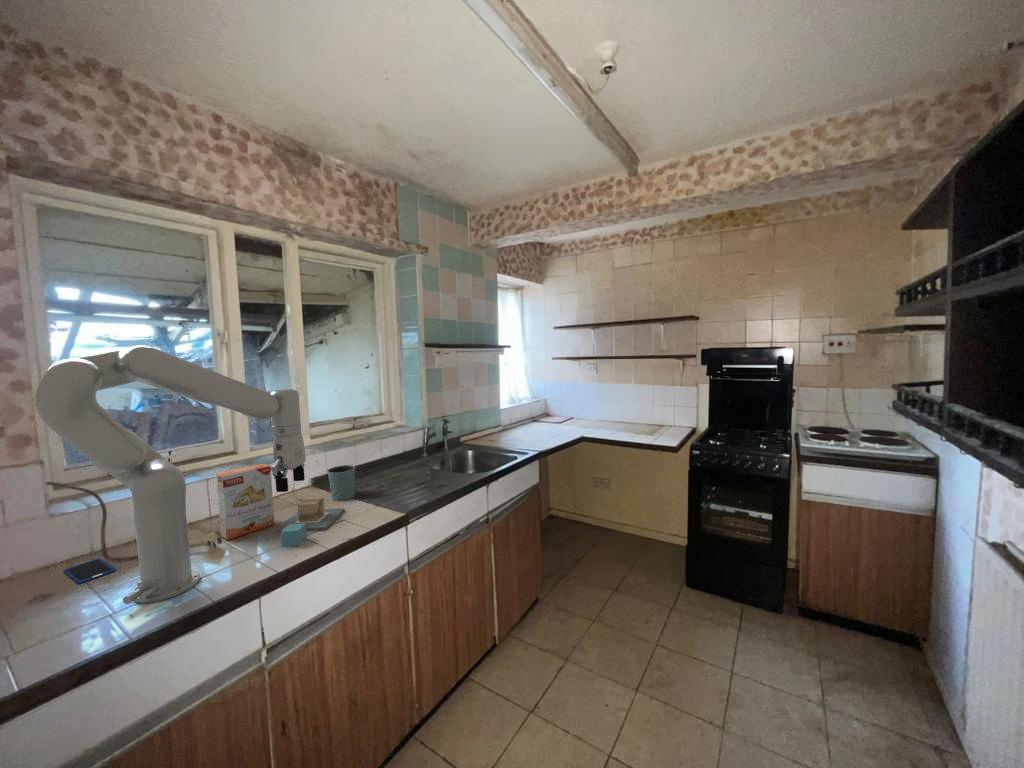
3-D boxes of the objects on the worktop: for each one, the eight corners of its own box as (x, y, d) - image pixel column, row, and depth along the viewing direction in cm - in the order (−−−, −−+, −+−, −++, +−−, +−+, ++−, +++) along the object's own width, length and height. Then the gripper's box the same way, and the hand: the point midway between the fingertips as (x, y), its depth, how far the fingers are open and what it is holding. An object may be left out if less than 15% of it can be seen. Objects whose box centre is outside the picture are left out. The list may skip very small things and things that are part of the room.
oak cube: (316, 520, 134) (315, 503, 133) (298, 521, 134) (297, 504, 133) (324, 513, 140) (323, 497, 139) (307, 514, 140) (306, 498, 139)
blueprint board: (325, 530, 129) (325, 526, 129) (276, 532, 129) (275, 528, 128) (344, 510, 145) (344, 507, 145) (300, 512, 144) (300, 509, 144)
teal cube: (298, 546, 119) (297, 530, 118) (281, 547, 118) (280, 531, 118) (306, 538, 124) (305, 523, 123) (290, 539, 123) (289, 524, 123)
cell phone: (78, 586, 101) (78, 583, 101) (62, 572, 108) (62, 569, 108) (117, 572, 107) (117, 569, 107) (99, 559, 114) (99, 557, 114)
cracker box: (227, 541, 123) (221, 476, 121) (220, 536, 126) (214, 473, 125) (275, 525, 134) (271, 465, 132) (267, 521, 138) (263, 462, 136)
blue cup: (361, 493, 163) (359, 465, 162) (348, 502, 153) (346, 472, 152) (337, 493, 164) (336, 464, 163) (324, 502, 154) (322, 472, 153)
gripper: (284, 436, 110) (288, 495, 111) (313, 424, 127) (316, 476, 128) (256, 437, 110) (261, 496, 111) (289, 425, 127) (293, 477, 128)
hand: (291, 485), depth 120 cm, fingers open, 9 cm apart
